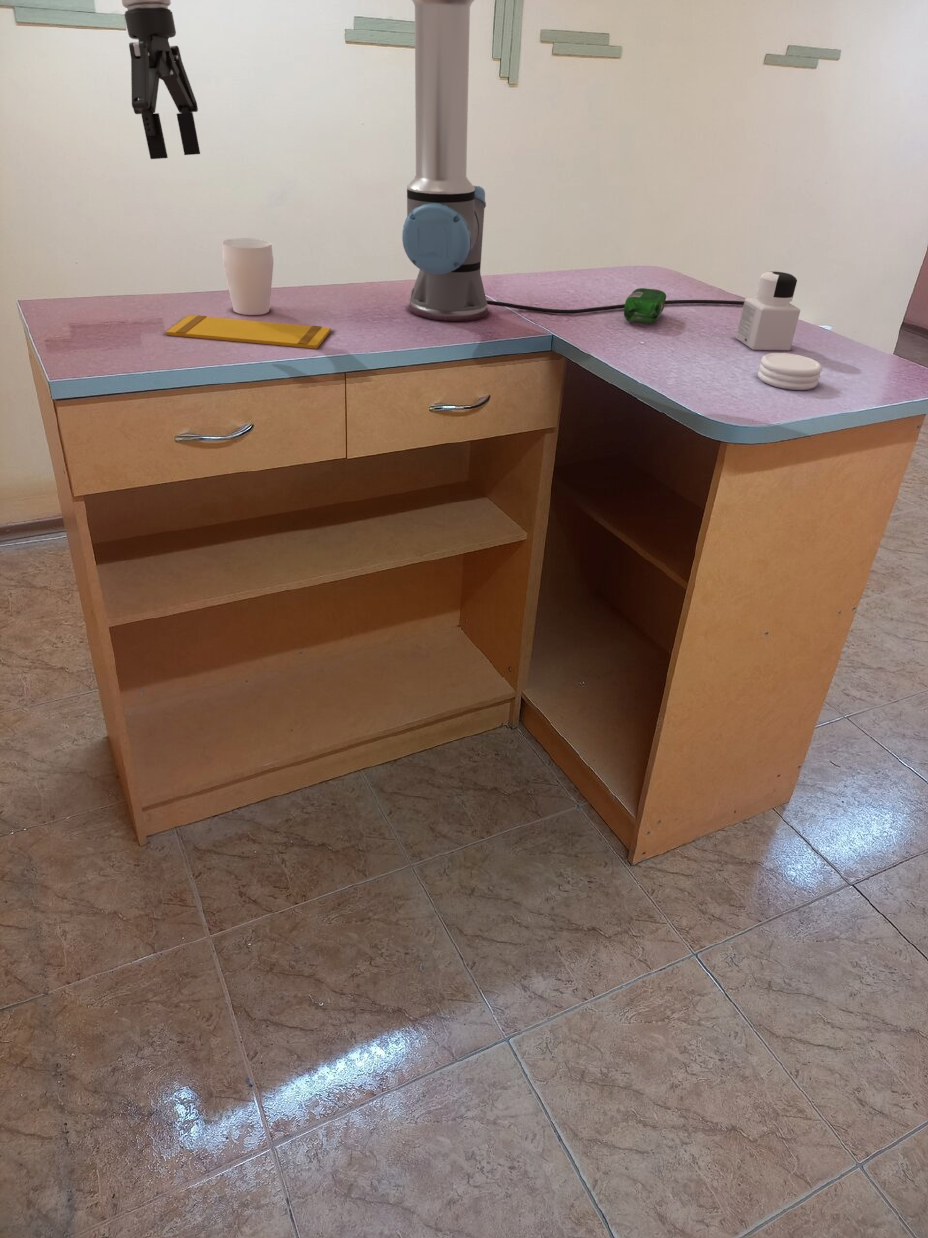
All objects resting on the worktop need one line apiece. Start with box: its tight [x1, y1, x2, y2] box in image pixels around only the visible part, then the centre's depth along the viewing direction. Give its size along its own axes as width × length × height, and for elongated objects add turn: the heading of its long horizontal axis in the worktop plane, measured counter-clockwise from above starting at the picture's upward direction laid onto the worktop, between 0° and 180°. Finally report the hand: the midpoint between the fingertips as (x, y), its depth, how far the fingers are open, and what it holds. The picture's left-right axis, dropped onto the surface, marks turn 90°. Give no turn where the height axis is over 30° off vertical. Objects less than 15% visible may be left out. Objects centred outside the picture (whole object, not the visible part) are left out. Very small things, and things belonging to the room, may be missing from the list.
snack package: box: [623, 287, 667, 325], centre depth 180 cm, size 7×16×5 cm, turn 161°
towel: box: [165, 314, 332, 350], centre depth 156 cm, size 26×11×1 cm, turn 85°
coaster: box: [757, 352, 823, 391], centre depth 152 cm, size 10×10×4 cm
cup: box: [222, 237, 274, 316], centre depth 165 cm, size 9×9×12 cm
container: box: [736, 271, 801, 351], centre depth 168 cm, size 8×8×13 cm
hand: (176, 156), depth 155 cm, fingers open, 13 cm apart
